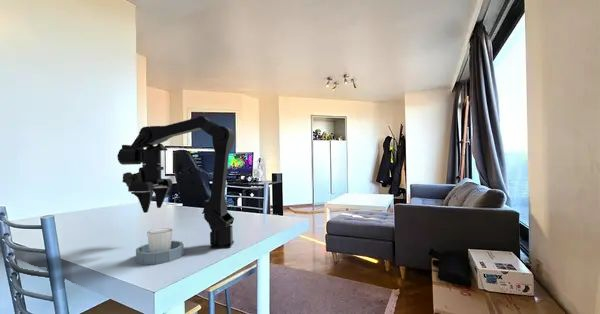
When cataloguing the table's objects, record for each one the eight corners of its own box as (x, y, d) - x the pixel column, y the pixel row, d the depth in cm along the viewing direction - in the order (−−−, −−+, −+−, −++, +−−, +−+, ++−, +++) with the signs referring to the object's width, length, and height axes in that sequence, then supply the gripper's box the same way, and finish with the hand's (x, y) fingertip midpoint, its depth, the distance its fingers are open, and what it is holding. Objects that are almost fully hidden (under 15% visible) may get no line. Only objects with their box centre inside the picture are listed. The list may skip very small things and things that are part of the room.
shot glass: (163, 258, 83) (162, 233, 83) (141, 257, 84) (141, 232, 84) (177, 250, 89) (177, 228, 90) (157, 249, 91) (157, 227, 91)
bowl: (189, 249, 93) (189, 240, 93) (172, 263, 80) (172, 252, 80) (149, 250, 93) (149, 241, 93) (126, 264, 80) (126, 254, 80)
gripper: (142, 164, 108) (143, 206, 108) (110, 165, 89) (111, 216, 89) (172, 163, 108) (173, 205, 108) (146, 164, 89) (147, 215, 89)
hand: (152, 210), depth 99 cm, fingers open, 9 cm apart
